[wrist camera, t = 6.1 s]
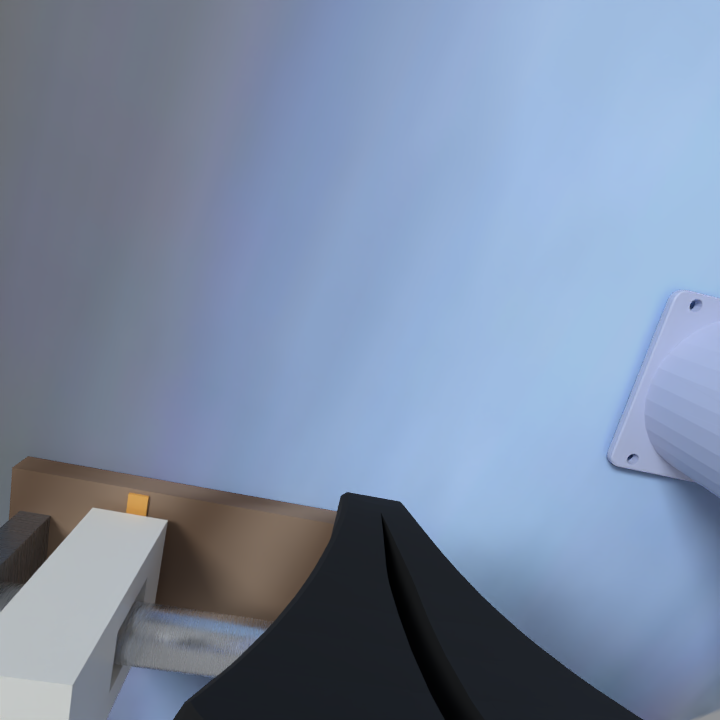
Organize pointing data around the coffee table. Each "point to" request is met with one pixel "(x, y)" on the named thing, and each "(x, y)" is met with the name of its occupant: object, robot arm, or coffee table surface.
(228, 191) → the coffee table surface
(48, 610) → the white block on rod
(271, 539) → the rod jig
